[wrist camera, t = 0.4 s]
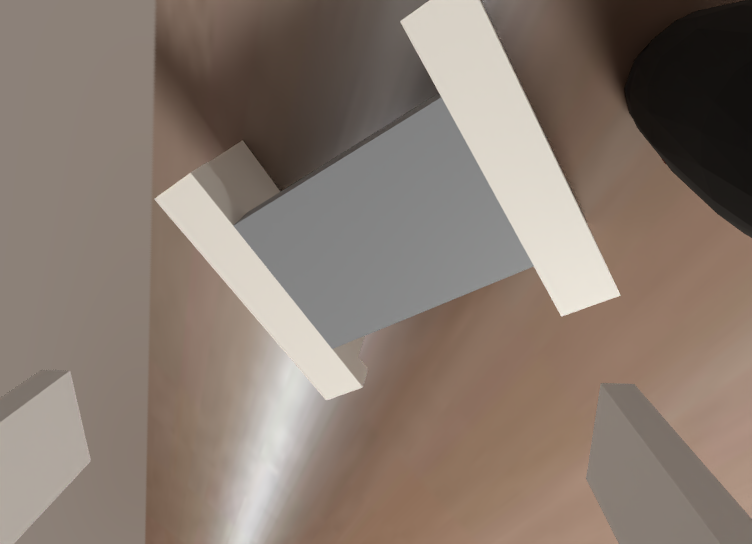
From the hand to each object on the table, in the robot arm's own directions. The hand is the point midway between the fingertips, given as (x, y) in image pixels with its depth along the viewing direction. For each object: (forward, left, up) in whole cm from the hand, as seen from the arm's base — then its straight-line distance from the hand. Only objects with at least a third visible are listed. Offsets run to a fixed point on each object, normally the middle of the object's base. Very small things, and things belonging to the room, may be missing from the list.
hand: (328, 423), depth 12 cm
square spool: (+4, +2, -27) cm, 28 cm away
